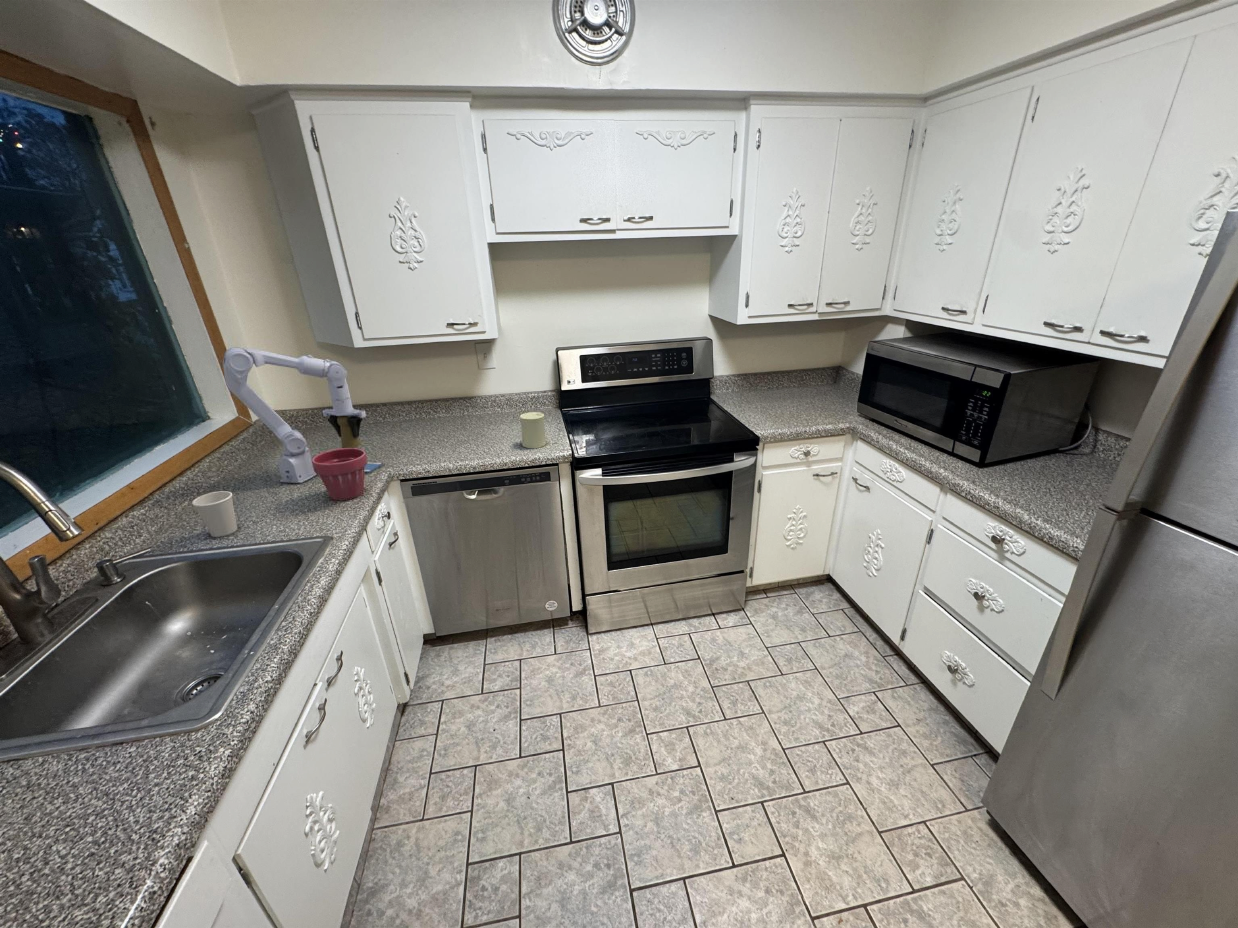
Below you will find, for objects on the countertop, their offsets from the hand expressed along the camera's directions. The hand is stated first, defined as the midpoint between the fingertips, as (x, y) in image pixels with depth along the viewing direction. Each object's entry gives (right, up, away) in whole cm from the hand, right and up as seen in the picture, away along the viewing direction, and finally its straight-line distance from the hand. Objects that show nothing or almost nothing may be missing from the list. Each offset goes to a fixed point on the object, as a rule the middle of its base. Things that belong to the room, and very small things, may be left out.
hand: (349, 436), depth 173 cm
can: (+60, -2, +22) cm, 64 cm away
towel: (+5, -11, +1) cm, 12 cm away
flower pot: (+9, -19, -18) cm, 28 cm away
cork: (0, -3, +1) cm, 4 cm away
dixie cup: (-13, -28, -39) cm, 49 cm away
